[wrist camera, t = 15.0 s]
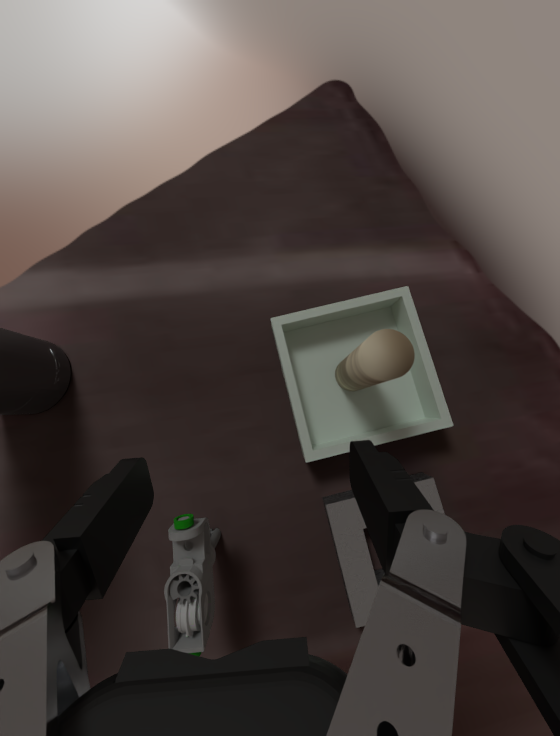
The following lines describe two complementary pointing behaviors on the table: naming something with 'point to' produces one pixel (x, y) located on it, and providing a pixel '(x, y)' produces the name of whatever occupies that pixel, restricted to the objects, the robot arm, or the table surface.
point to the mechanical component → (191, 583)
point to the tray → (365, 406)
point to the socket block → (363, 545)
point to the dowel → (376, 361)
